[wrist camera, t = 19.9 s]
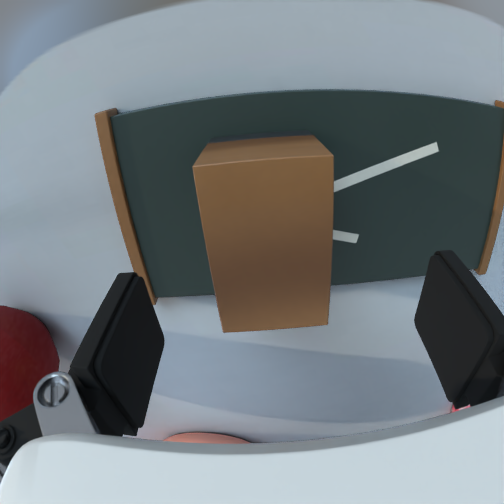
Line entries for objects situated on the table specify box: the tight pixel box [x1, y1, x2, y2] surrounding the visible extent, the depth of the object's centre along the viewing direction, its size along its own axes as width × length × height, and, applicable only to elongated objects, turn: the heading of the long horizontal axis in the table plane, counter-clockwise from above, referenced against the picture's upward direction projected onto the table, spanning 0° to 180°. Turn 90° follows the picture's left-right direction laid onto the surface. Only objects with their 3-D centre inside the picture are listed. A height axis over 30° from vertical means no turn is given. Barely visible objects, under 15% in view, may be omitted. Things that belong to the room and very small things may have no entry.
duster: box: [192, 130, 334, 333], centre depth 15 cm, size 8×5×6 cm, turn 5°
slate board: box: [95, 89, 504, 305], centre depth 18 cm, size 13×25×2 cm, turn 95°
